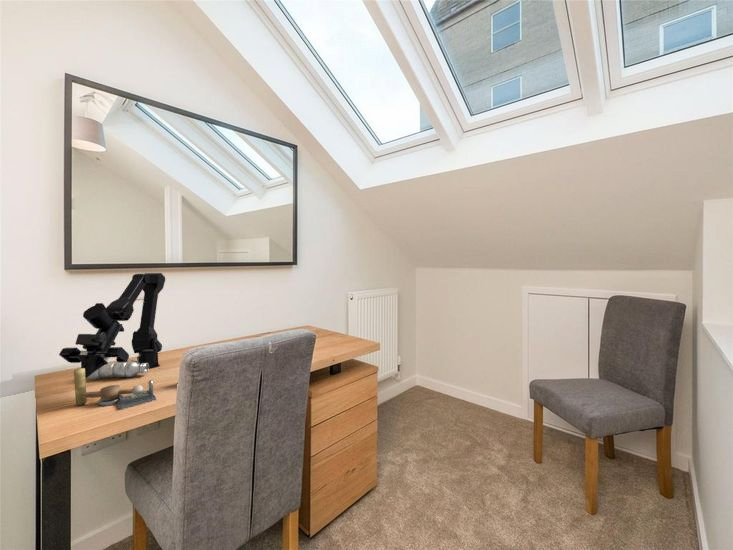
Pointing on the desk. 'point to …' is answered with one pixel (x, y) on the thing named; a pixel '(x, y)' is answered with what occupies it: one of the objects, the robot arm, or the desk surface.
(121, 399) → the level stand
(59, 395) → the desk surface
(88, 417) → the desk surface
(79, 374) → the tan piece
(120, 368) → the plastic bottle
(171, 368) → the desk surface
